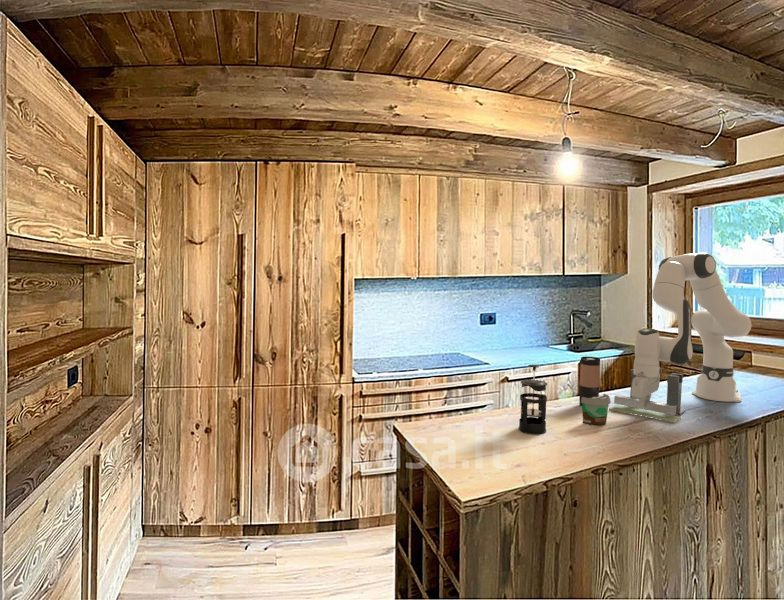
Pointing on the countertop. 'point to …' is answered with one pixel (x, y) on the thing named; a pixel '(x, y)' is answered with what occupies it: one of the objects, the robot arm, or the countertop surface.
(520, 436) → the countertop surface
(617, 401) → the rail
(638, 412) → the mat
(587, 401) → the food container
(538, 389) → the french press
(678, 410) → the posts
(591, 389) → the travel mug
